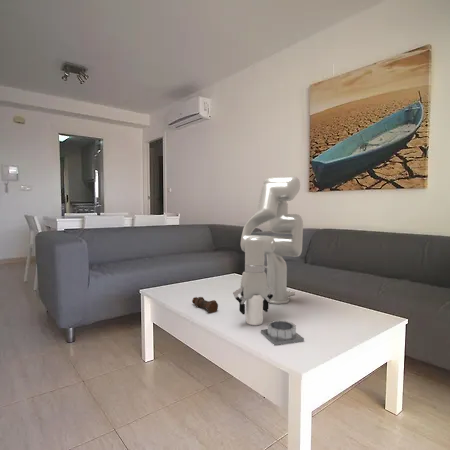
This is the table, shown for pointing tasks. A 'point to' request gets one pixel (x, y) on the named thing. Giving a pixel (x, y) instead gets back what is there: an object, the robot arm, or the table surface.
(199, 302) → the bolt
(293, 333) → the duct collar
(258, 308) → the can
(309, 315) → the table surface
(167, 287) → the table surface
